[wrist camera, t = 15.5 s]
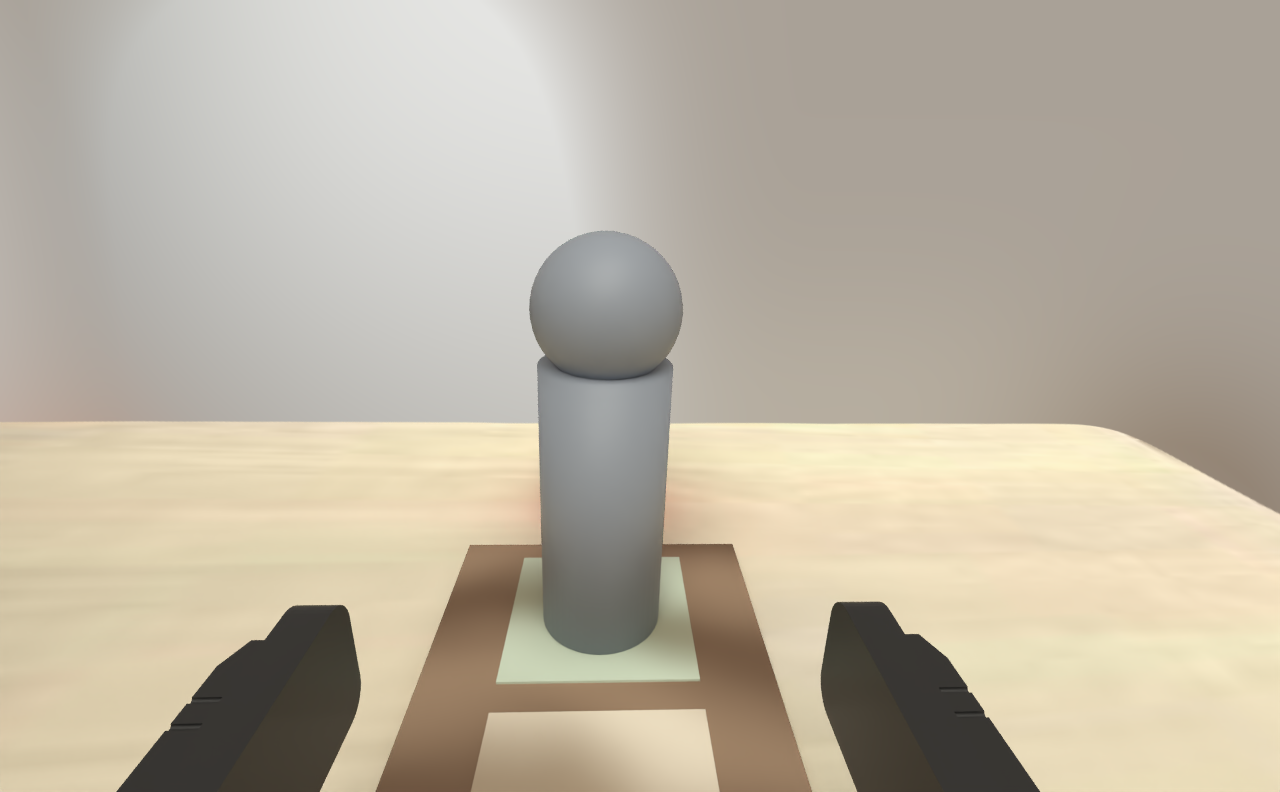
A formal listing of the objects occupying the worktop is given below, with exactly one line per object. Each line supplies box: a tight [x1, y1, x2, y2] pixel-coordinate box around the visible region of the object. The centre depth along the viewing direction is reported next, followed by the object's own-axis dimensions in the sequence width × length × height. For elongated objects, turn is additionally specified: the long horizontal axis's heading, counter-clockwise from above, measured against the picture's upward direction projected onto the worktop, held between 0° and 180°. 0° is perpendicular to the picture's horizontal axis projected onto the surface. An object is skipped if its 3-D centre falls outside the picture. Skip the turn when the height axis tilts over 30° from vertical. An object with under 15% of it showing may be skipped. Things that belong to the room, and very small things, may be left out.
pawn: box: [529, 231, 683, 655], centre depth 20 cm, size 5×5×14 cm
